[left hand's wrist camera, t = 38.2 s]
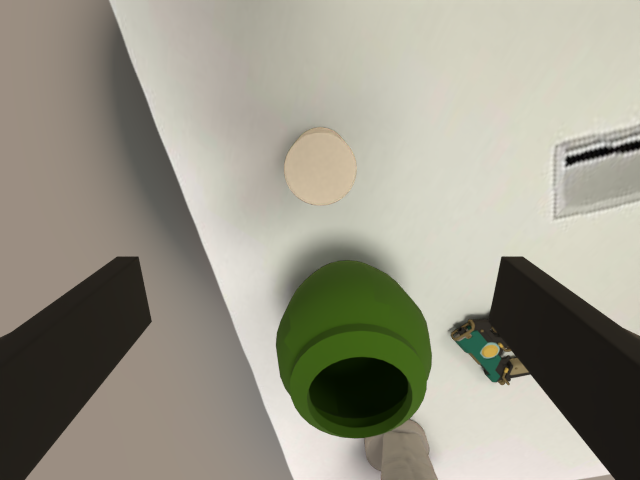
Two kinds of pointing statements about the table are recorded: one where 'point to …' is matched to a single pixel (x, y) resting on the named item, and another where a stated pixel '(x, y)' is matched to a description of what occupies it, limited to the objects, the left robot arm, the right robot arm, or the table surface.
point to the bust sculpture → (401, 453)
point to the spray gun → (488, 351)
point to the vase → (353, 351)
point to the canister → (320, 167)
